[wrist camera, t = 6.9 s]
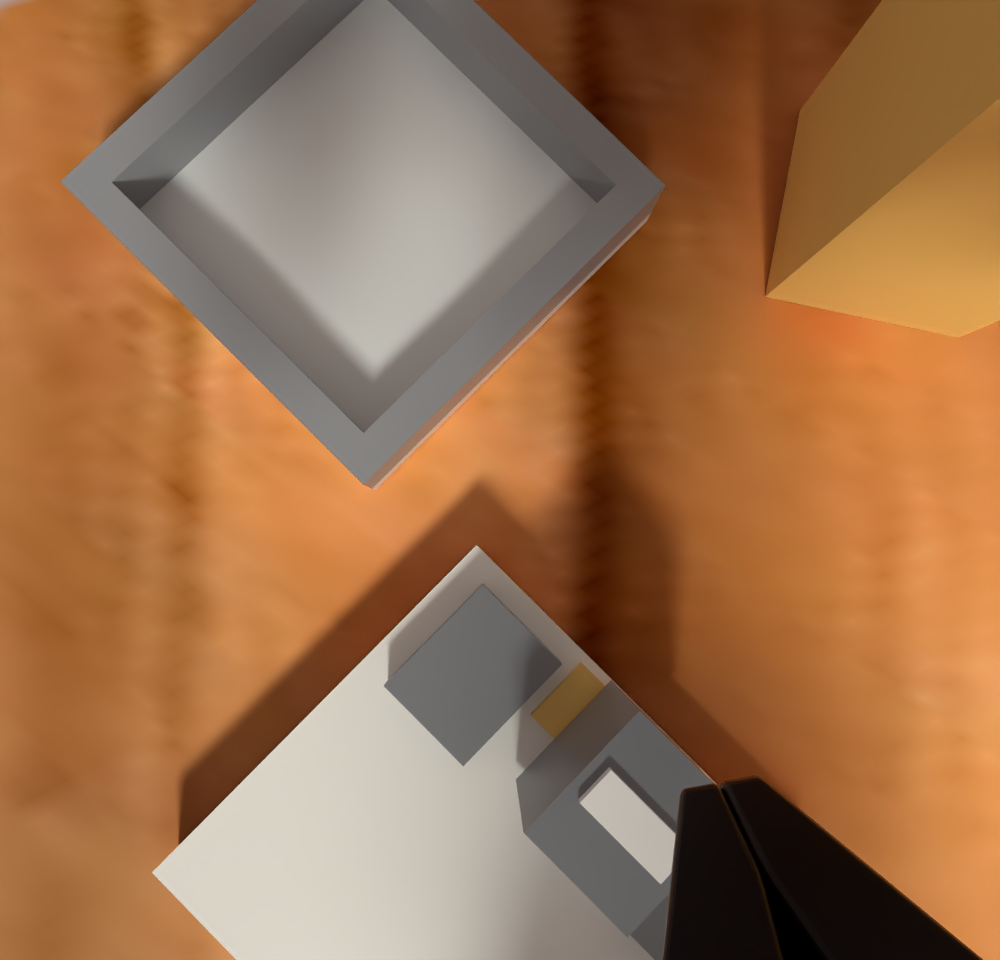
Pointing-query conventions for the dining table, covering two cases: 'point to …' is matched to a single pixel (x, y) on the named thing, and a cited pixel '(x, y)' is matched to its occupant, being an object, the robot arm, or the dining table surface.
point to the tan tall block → (900, 174)
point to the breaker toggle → (609, 805)
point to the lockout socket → (367, 207)
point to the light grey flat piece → (412, 803)
